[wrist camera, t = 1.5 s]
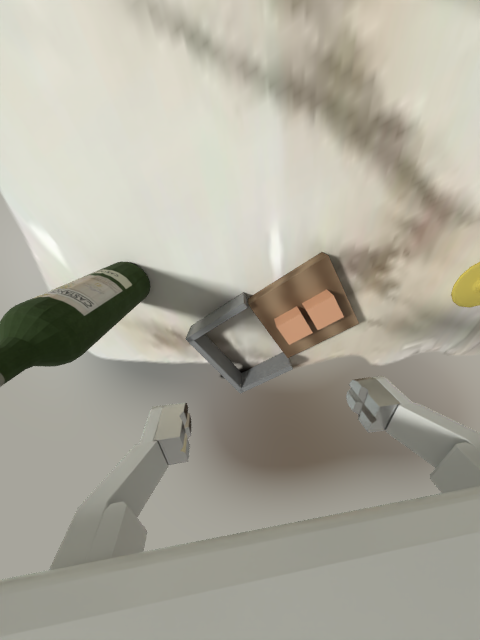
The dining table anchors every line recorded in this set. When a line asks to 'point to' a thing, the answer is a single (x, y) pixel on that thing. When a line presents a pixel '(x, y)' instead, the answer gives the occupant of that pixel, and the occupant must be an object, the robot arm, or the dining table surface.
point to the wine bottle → (68, 318)
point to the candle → (468, 288)
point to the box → (221, 362)
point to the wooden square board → (296, 291)
